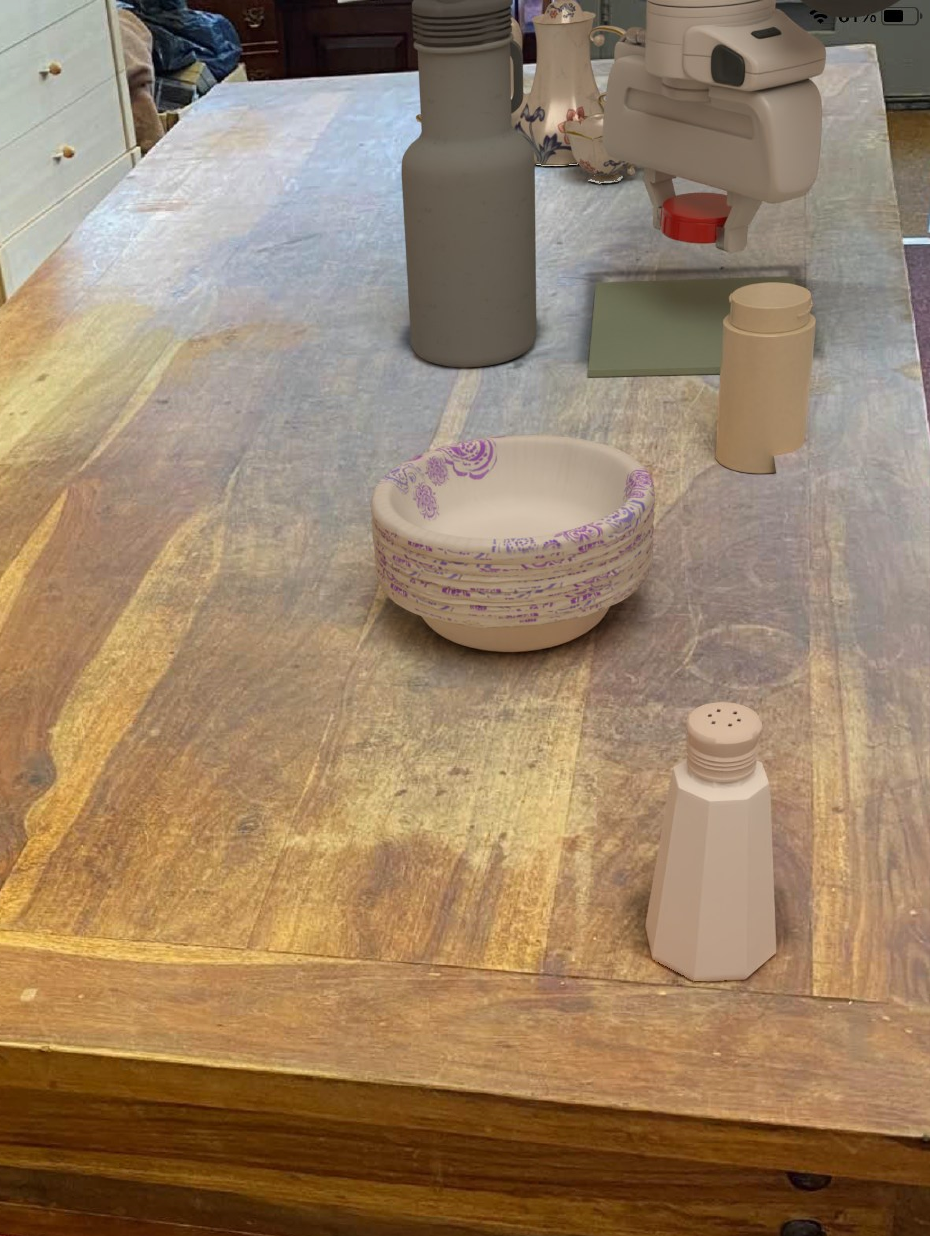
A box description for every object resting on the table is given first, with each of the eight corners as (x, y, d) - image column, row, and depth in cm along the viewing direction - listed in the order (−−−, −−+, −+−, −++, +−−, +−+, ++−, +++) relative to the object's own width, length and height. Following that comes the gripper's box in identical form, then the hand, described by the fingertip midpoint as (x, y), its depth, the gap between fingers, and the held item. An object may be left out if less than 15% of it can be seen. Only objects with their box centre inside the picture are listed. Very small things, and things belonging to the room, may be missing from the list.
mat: (793, 282, 132) (793, 275, 132) (812, 372, 117) (813, 364, 116) (595, 289, 135) (595, 282, 135) (587, 377, 119) (587, 369, 119)
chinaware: (396, 190, 171) (378, 23, 161) (468, 134, 182) (455, -26, 171) (644, 209, 158) (642, 28, 148) (707, 147, 168) (709, -26, 158)
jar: (800, 438, 107) (813, 278, 101) (807, 473, 103) (822, 308, 97) (713, 440, 108) (722, 281, 102) (717, 474, 104) (726, 311, 98)
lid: (694, 249, 119) (697, 224, 118) (644, 227, 123) (646, 202, 122) (759, 233, 121) (762, 208, 120) (707, 211, 125) (709, 187, 124)
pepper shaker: (627, 969, 66) (634, 744, 60) (661, 890, 70) (670, 671, 64) (762, 998, 64) (783, 768, 58) (789, 915, 68) (811, 691, 62)
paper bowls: (453, 536, 100) (448, 413, 95) (690, 577, 93) (697, 447, 88) (329, 651, 89) (316, 520, 85) (586, 707, 83) (587, 567, 78)
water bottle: (433, 322, 132) (414, -62, 116) (550, 326, 129) (548, -68, 113) (395, 368, 124) (370, -38, 108) (519, 373, 121) (512, -44, 105)
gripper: (583, 30, 121) (582, 219, 129) (772, 68, 106) (757, 279, 114) (651, 16, 123) (645, 203, 131) (845, 51, 108) (825, 259, 116)
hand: (698, 239), depth 122 cm, fingers closed on lid, 6 cm apart
